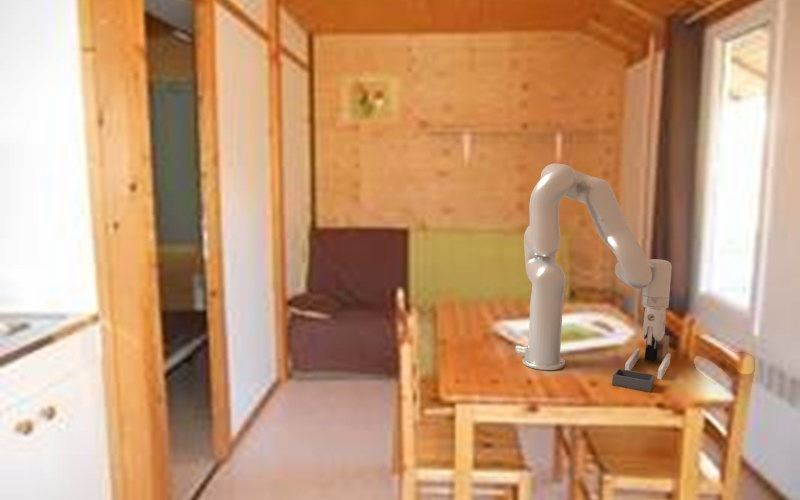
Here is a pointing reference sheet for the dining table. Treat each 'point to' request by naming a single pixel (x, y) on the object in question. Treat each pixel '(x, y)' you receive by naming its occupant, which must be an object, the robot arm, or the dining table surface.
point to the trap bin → (633, 380)
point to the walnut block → (662, 349)
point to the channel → (635, 357)
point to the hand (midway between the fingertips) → (650, 359)
